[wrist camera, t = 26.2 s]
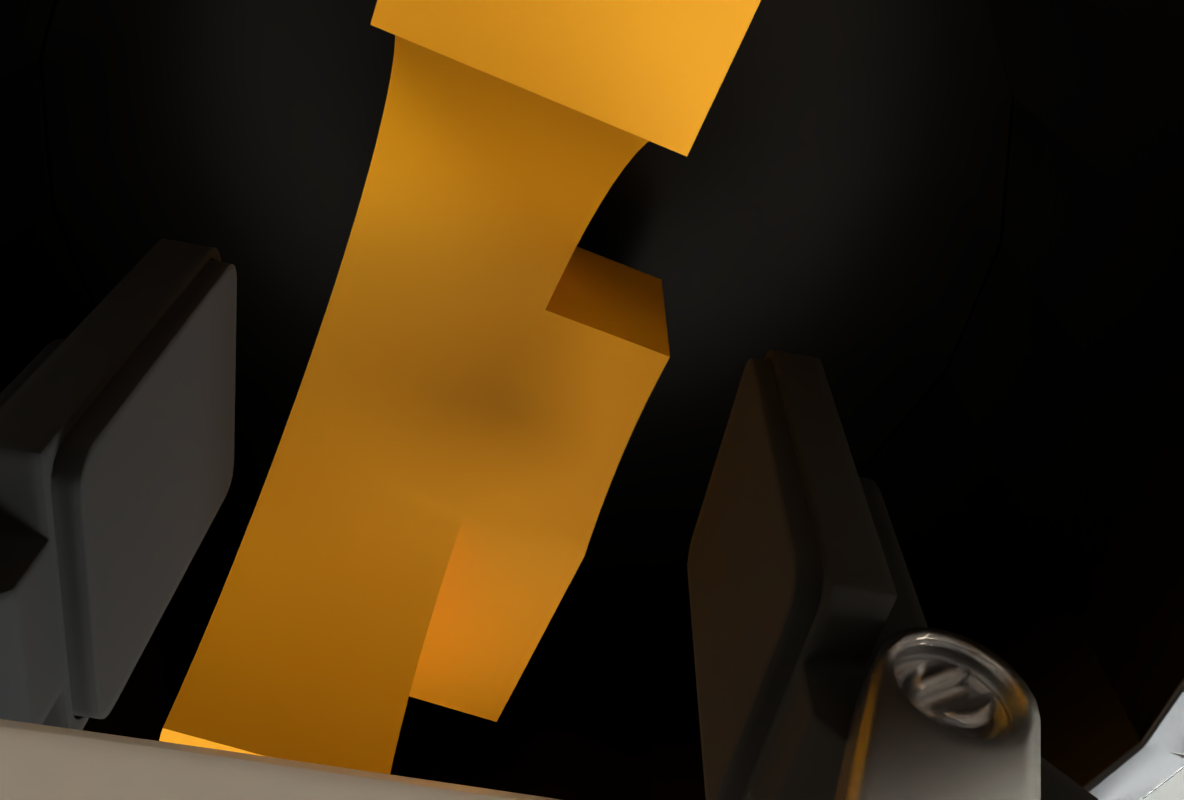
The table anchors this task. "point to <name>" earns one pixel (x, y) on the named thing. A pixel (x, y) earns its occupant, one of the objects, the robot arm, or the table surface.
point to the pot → (708, 330)
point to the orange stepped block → (457, 379)
